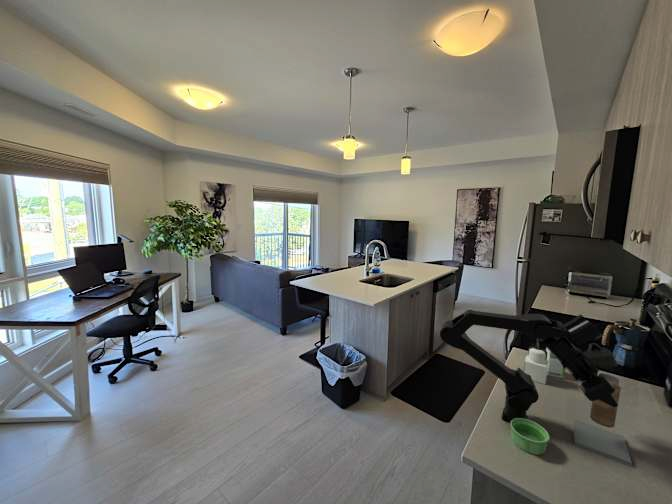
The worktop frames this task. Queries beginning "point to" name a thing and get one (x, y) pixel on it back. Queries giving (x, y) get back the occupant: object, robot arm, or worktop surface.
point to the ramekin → (529, 436)
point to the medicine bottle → (536, 364)
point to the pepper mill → (606, 405)
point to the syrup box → (554, 366)
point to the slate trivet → (601, 442)
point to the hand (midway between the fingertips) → (611, 400)
